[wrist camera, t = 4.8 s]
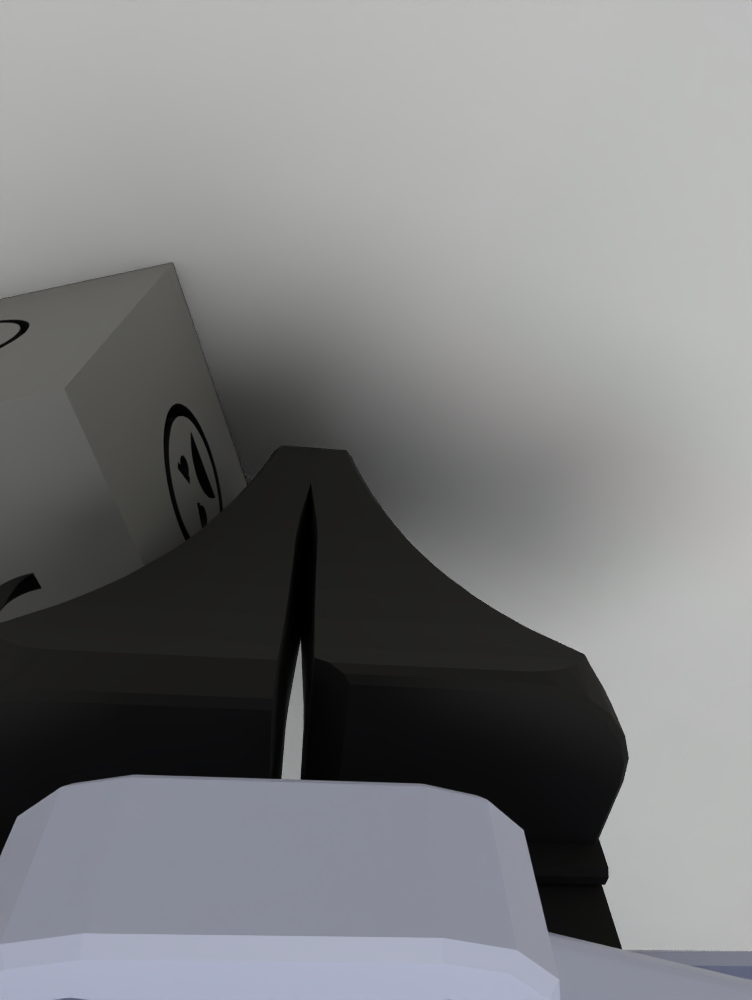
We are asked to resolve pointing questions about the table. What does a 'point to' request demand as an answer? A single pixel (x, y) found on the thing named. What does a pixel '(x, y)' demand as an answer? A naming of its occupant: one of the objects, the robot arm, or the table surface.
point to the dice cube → (103, 436)
